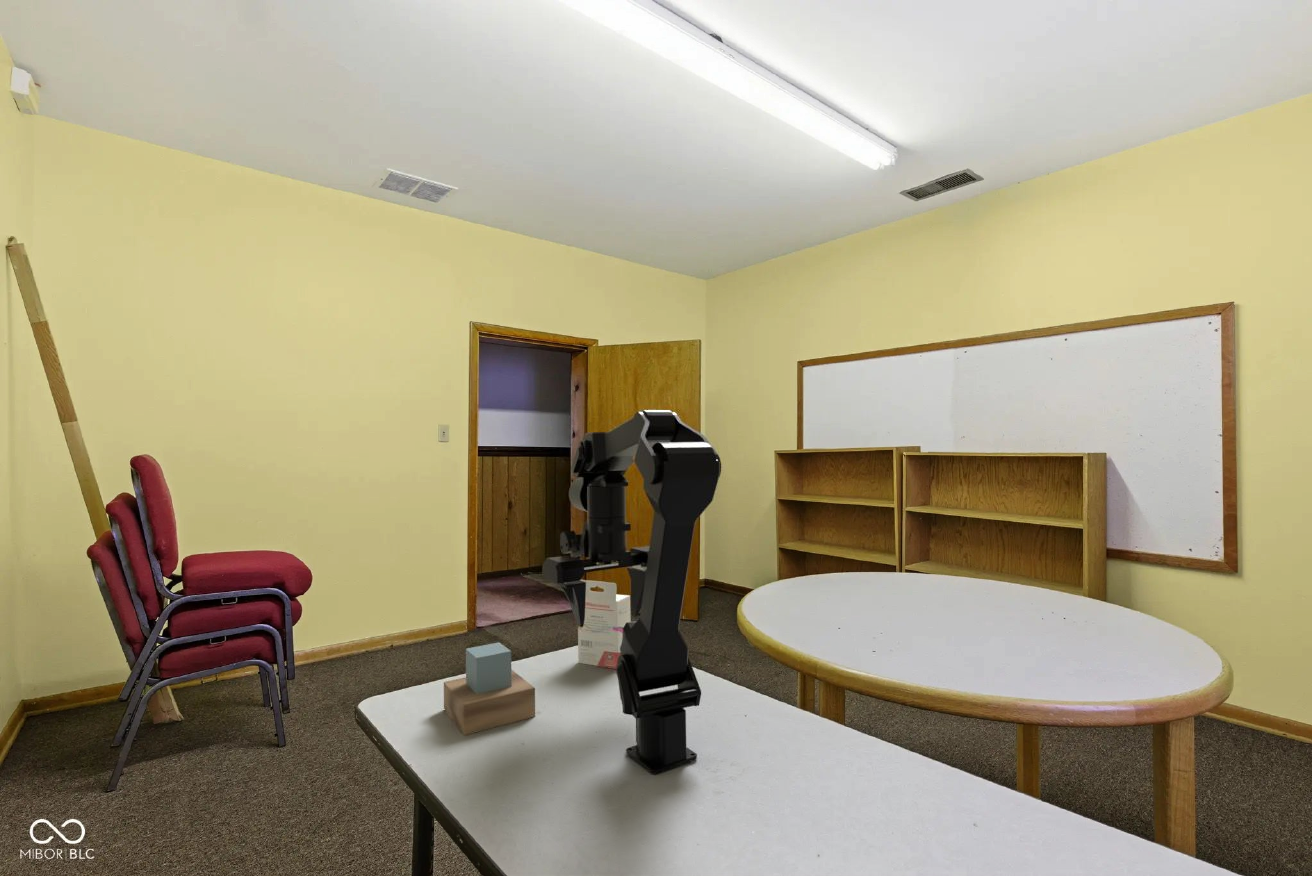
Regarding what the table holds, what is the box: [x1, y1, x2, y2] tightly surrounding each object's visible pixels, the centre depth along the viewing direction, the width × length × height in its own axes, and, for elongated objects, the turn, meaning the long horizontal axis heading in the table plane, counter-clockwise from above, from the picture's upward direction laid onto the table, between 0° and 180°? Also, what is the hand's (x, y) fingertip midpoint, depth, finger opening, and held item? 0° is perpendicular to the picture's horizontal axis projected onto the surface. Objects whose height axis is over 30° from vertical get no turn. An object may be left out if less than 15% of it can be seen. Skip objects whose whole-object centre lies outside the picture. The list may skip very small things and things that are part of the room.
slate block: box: [465, 642, 512, 694], centre depth 90 cm, size 5×5×5 cm
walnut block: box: [443, 668, 536, 736], centre depth 90 cm, size 10×10×4 cm
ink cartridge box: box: [577, 579, 632, 670], centre depth 111 cm, size 9×5×15 cm, turn 62°
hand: (608, 621), depth 93 cm, fingers open, 9 cm apart
